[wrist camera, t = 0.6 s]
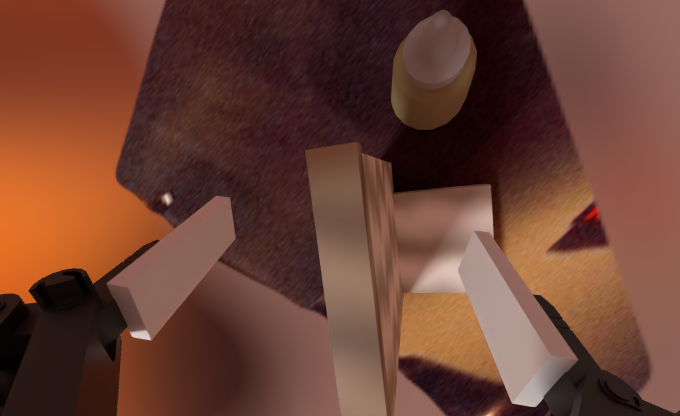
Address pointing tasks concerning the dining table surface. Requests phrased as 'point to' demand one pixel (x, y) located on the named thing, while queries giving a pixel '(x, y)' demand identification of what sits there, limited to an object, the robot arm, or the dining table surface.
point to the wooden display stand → (382, 262)
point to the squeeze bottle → (433, 72)
